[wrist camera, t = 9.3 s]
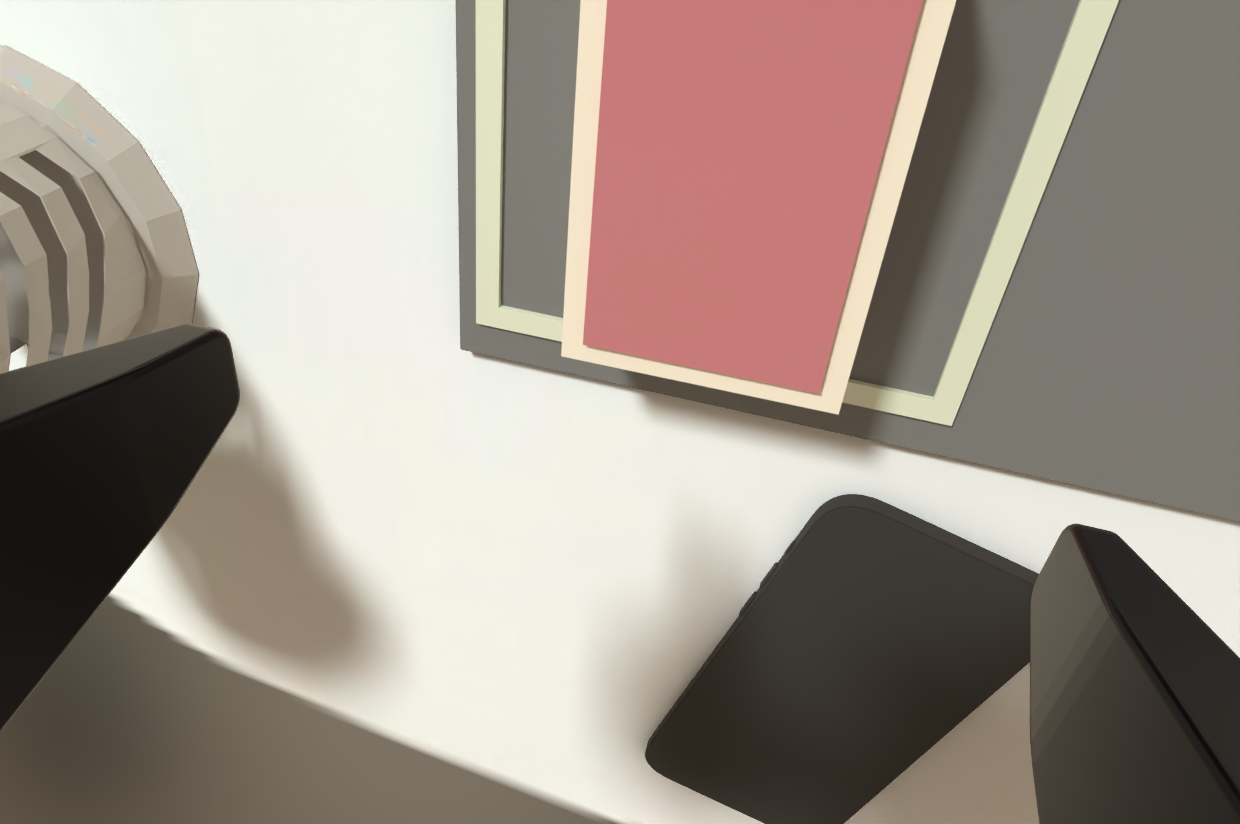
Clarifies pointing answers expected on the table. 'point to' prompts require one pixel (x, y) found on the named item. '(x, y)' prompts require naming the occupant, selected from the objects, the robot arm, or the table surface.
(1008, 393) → the mat
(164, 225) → the french press
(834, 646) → the phone
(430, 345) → the table surface
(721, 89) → the card deck
